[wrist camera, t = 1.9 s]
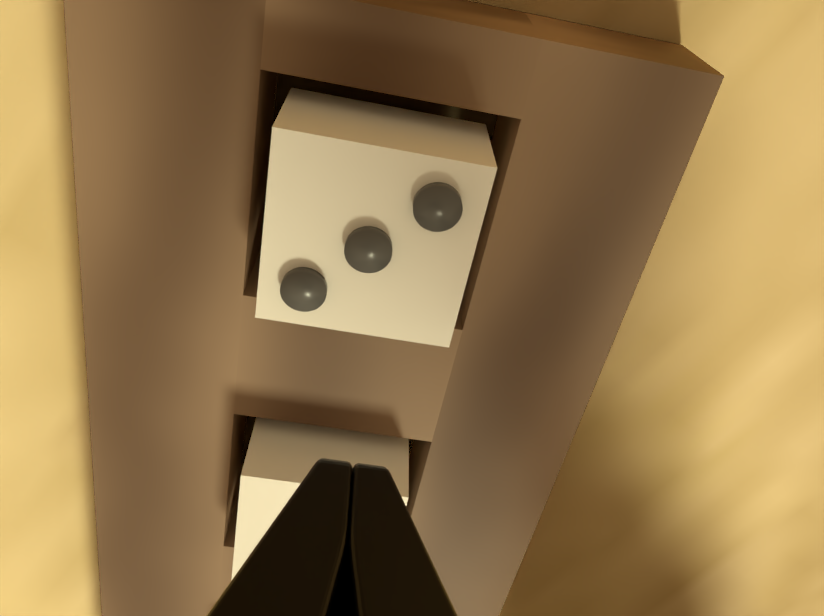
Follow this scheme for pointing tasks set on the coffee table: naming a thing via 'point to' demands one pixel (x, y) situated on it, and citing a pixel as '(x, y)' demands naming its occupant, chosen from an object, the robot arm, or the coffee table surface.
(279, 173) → the button three
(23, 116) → the coffee table surface
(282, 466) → the button two
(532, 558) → the coffee table surface
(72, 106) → the button panel
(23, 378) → the coffee table surface
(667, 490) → the coffee table surface
